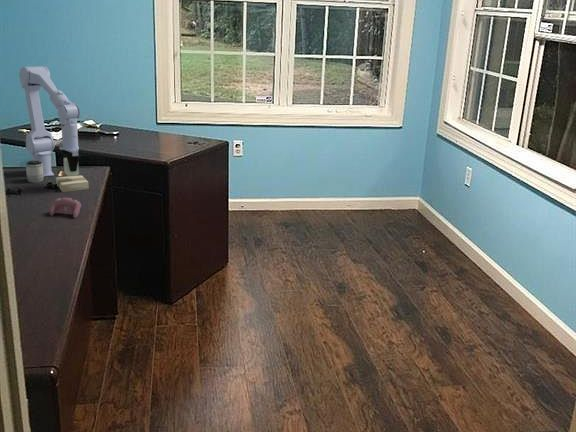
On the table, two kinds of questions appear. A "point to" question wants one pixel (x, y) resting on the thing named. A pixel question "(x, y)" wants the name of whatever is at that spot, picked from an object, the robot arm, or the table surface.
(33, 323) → the table surface
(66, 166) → the sage block
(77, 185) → the birch block
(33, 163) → the camera lens
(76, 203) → the video game controller
